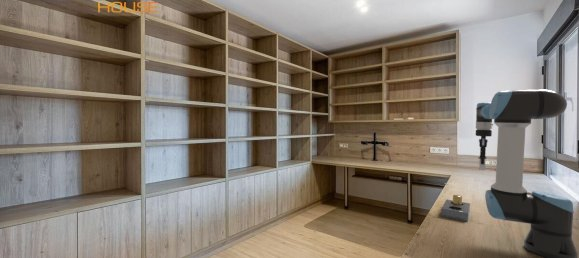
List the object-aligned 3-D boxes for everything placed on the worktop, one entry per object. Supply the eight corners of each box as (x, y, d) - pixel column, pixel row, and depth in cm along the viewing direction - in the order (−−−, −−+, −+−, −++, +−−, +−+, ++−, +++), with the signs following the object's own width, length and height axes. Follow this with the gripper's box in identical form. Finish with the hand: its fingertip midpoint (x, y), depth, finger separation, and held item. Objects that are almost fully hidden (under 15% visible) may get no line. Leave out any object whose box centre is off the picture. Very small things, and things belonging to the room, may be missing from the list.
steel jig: (467, 221, 134) (468, 213, 134) (441, 216, 142) (441, 208, 142) (469, 211, 152) (470, 203, 152) (446, 206, 159) (446, 199, 159)
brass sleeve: (459, 213, 148) (460, 197, 148) (451, 210, 151) (451, 195, 151) (462, 211, 150) (463, 196, 150) (454, 209, 154) (455, 194, 154)
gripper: (492, 129, 144) (490, 172, 144) (491, 129, 154) (490, 169, 155) (475, 129, 148) (473, 170, 149) (476, 129, 159) (474, 167, 159)
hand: (482, 169), depth 152 cm, fingers closed
